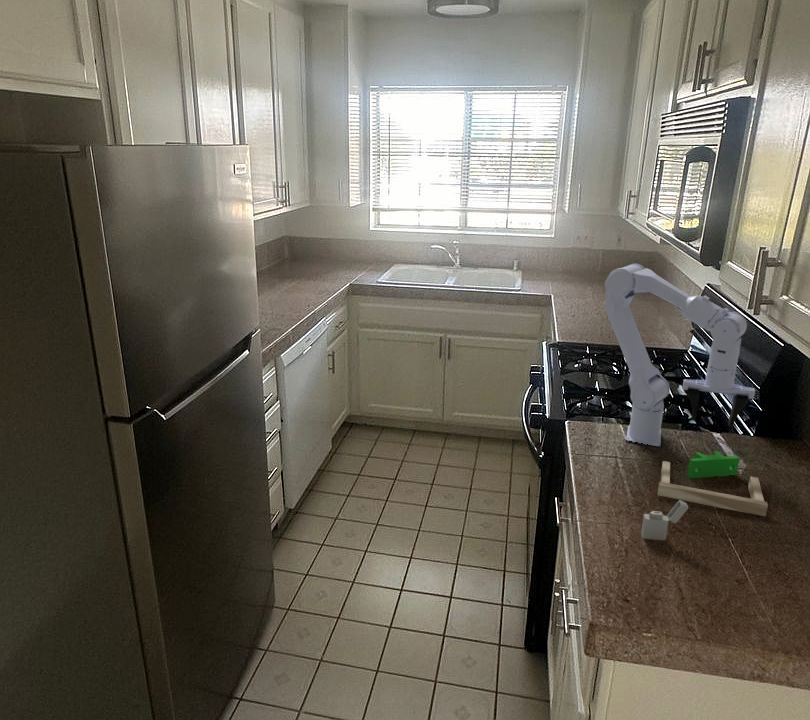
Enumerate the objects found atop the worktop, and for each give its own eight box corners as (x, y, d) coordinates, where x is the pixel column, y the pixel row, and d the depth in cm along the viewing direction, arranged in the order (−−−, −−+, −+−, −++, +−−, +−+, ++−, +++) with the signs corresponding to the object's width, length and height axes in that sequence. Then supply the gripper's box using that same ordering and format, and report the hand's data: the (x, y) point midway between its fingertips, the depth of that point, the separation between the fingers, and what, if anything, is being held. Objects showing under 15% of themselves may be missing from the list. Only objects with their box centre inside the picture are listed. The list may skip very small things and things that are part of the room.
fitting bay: (658, 470, 138) (660, 460, 137) (758, 488, 130) (760, 478, 130) (657, 495, 128) (659, 484, 127) (765, 516, 120) (768, 505, 120)
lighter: (642, 538, 114) (648, 501, 111) (640, 533, 115) (646, 496, 113) (682, 542, 113) (689, 505, 110) (679, 536, 114) (686, 499, 111)
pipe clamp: (725, 468, 139) (729, 450, 138) (736, 476, 136) (740, 458, 134) (680, 470, 138) (683, 452, 136) (689, 478, 134) (692, 460, 133)
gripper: (756, 365, 137) (745, 420, 141) (686, 357, 142) (677, 410, 147) (760, 375, 131) (748, 432, 135) (687, 366, 136) (678, 421, 141)
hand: (711, 421), depth 141 cm, fingers open, 7 cm apart
